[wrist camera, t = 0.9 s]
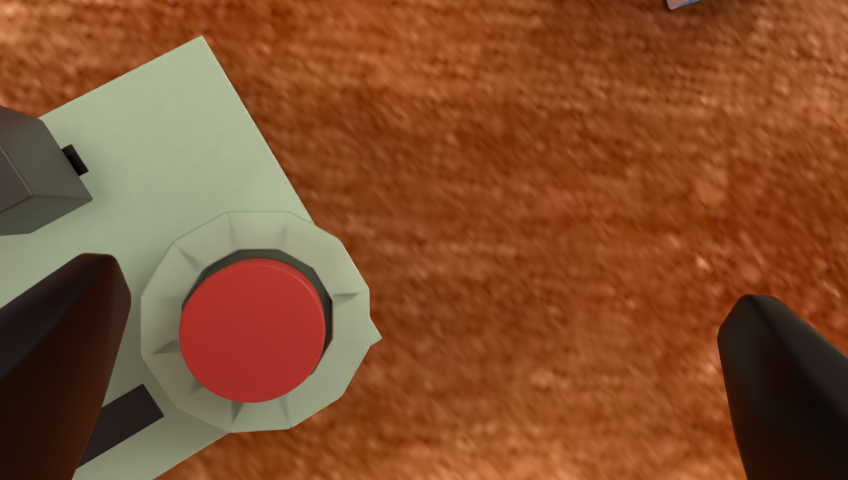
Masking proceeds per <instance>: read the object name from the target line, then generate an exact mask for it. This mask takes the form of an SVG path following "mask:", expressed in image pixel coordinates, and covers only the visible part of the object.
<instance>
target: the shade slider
mask: <svg viewBox="0 0 848 480" xmlns="http://www.w3.org/2000/svg"><path fill="white" fill-rule="evenodd" d="M92 200H93V198H92V196H91V195H90V193H89V191H88V190H87V188H86V187H85V185H84V184H83V182H82V181H81V179H80V178H79V176H78V174H77V173H76V171H75V170H74V168H73V167H72V165H71V164H70V162H69V160H68V159H67V157H66V156H65V154H64V153H63V151H62V150H61V148H60V147H59V145H58V143H57V142H56V140H55V139H54V137H53V136H52V134H51V133H50V131H49V130H48V128H47V126H46V125H45V123H44V122H43V121H42V120H40V119H37V118H34V117H32V116H29V115H26V114H23V113H20V112H17V111H14V110H12V109H9V108H6V107H3V106H0V236H6V235H20V234H30V233H32V232H34V231H36V230H38V229H40V228H42V227H44V226H45V225H47V224H49V223H51V222H53V221H55V220H57V219H59V218H60V217H62V216H64V215H66V214H68V213H70V212H72V211H74V210H76V209H77V208H79V207H81V206H83V205H85V204H87V203H89V202H91V201H92Z"/></svg>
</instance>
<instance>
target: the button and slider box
mask: <svg viewBox="0 0 848 480" xmlns="http://www.w3.org/2000/svg"><path fill="white" fill-rule="evenodd" d="M37 119H40V120H42V121H43V122H44V123H45V125H46V126H47V128H48V130H49V131H50V133H51V134H52V136H53V137H54V139H55V140H56V142H57V143H58V145H59V147H60V148H61V149H62V148H64V147H66V146H68V145H70V144H72V145H73V146H74V148H75V150H76V151H77V153H78V154H79V156H80V157H81V159H82V160H83V162H84V164H85V165H86V167H87V168H88V170H89V172H87V173H85V174H83V175H82V176H80V177H79V178H80V179H81V181H82V182H83V184H84V185H85V187H86V188H87V190H88V191H89V193H90V195H91V196H92V198H93V200H92V201H91V202H89V203H87V204H85V205H83V206H81V207H79V208H77V209H76V210H74V211H72V212H70V213H68V214H66V215H64V216H62V217H60V218H59V219H57V220H55V221H53V222H51V223H49V224H47V225H45V226H44V227H42V228H40V229H38V230H36V231H34V232H32V233H30V234H20V235H6V236H0V308H1V307H3V306H4V305H6V304H7V303H9V302H10V301H12V300H13V299H14V298H16V297H17V296H19V295H20V294H22V293H23V292H25V291H26V290H28V289H29V288H31V287H32V286H33V285H35V284H36V283H38V282H39V281H41V280H42V279H44V278H45V277H47V276H48V275H50V274H51V273H52V272H54V271H55V270H57V269H58V268H60V267H61V266H63V265H64V264H66V263H67V262H69V261H70V260H71V259H73V258H74V257H76V256H78V255H80V254H82V253H102V254H110V255H113V256H114V257H115V258H116V259H117V261H118V263H119V265H120V267H121V270H122V272H123V275H124V277H125V280H126V282H127V284H128V287H129V289H130V292H131V308H130V312H129V316H128V319H127V323H126V326H125V330H124V333H123V337H122V340H121V344H120V347H119V351H118V354H117V358H116V362H115V365H114V369H113V372H112V376H111V379H110V383H109V386H108V390H107V393H106V396H105V399H104V402H103V405H102V407H103V406H105V405H106V404H108V403H110V402H112V401H113V400H115V399H117V398H118V397H120V396H122V395H123V394H125V393H127V392H129V391H130V390H132V389H134V388H135V387H137V386H139V385H140V384H142V383H143V384H144V386H145V387H146V389H147V390H148V392H149V393H150V395H151V396H152V398H153V399H154V401H155V402H156V404H157V405H158V407H159V408H160V410H161V411H162V413H163V414H164V417H163V418H161V419H159V420H158V421H156V422H154V423H153V424H151V425H149V426H148V427H146V428H144V429H143V430H141V431H139V432H138V433H136V434H134V435H133V436H131V437H129V438H128V439H126V440H124V441H123V442H121V443H119V444H118V445H116V446H114V447H113V448H111V449H109V450H108V451H106V452H104V453H103V454H101V455H99V456H98V457H96V458H94V459H93V460H91V461H89V462H88V463H86V464H84V465H83V466H81V467H79V468H78V469H76V471H75V474H74V476H73V479H72V480H153V479H155V478H156V477H158V476H159V475H161V474H163V473H164V472H166V471H168V470H169V469H171V468H172V467H174V466H176V465H177V464H179V463H181V462H182V461H184V460H186V459H187V458H189V457H190V456H192V455H194V454H195V453H197V452H199V451H200V450H202V449H203V448H205V447H207V446H208V445H210V444H212V443H213V442H215V441H216V440H218V439H220V438H221V437H223V436H225V435H226V434H228V433H237V432H253V431H268V430H284V429H290V428H292V427H294V426H296V425H297V424H299V423H300V422H302V421H304V420H305V419H307V418H309V417H310V416H312V415H313V414H315V413H317V412H318V411H320V410H321V409H323V408H325V407H326V406H328V405H329V404H331V403H333V402H334V401H336V400H337V399H339V398H340V397H341V396H342V395H343V393H344V392H345V390H346V388H347V386H348V384H349V383H350V381H351V379H352V377H353V376H354V374H355V372H356V370H357V369H358V367H359V365H360V363H361V362H362V360H363V358H364V356H365V354H366V353H367V351H368V349H369V347H370V346H371V345H373V344H375V343H376V342H378V341H379V340H381V339H382V338H381V336H380V334H379V332H378V330H377V329H376V327H375V325H374V323H373V322H372V320H371V318H370V292H369V288H368V286H367V285H366V283H365V281H364V280H363V278H362V276H361V275H360V273H359V271H358V269H357V268H356V266H355V264H354V263H353V261H352V259H351V258H350V256H349V254H348V253H347V251H346V249H345V247H344V246H343V244H342V242H341V241H340V240H339V239H338V238H336V237H335V236H333V235H331V234H330V233H328V232H326V231H324V230H322V229H321V228H319V227H317V226H316V225H315V224H314V222H313V220H312V219H311V217H310V215H309V214H308V212H307V210H306V209H305V207H304V205H303V204H302V202H301V200H300V199H299V197H298V195H297V193H296V192H295V190H294V188H293V187H292V185H291V183H290V182H289V180H288V178H287V177H286V175H285V173H284V172H283V170H282V168H281V167H280V165H279V163H278V161H277V160H276V158H275V156H274V155H273V153H272V151H271V150H270V148H269V146H268V145H267V143H266V141H265V140H264V138H263V136H262V135H261V133H260V131H259V129H258V128H257V126H256V124H255V123H254V121H253V119H252V118H251V116H250V114H249V113H248V111H247V109H246V108H245V106H244V104H243V103H242V101H241V99H240V97H239V96H238V94H237V92H236V91H235V89H234V87H233V86H232V84H231V82H230V81H229V79H228V77H227V76H226V74H225V72H224V71H223V69H222V67H221V65H220V64H219V62H218V61H217V59H216V57H215V56H214V54H213V52H212V51H211V49H210V47H209V46H208V44H207V42H206V41H205V39H204V38H203V36H199V37H197V38H195V39H193V40H191V41H189V42H187V43H185V44H183V45H181V46H179V47H177V48H175V49H173V50H171V51H169V52H167V53H165V54H163V55H162V56H160V57H158V58H156V59H154V60H152V61H150V62H148V63H146V64H144V65H142V66H140V67H138V68H136V69H134V70H132V71H130V72H128V73H126V74H124V75H122V76H120V77H118V78H116V79H114V80H112V81H110V82H108V83H106V84H104V85H102V86H100V87H98V88H96V89H94V90H92V91H90V92H88V93H86V94H84V95H82V96H80V97H78V98H76V99H74V100H72V101H70V102H68V103H66V104H64V105H62V106H60V107H58V108H57V109H55V110H53V111H51V112H49V113H47V114H45V115H43V116H41V117H39V118H37ZM258 257H261V258H271V259H277V260H280V261H283V262H285V263H288V264H290V265H292V266H293V267H295V268H297V269H298V270H299V271H301V272H302V273H303V274H304V275H305V276H306V277H307V278H308V279H309V280H310V281H311V282H312V284H313V285H314V287H315V288H316V290H317V292H318V294H319V297H320V299H321V302H322V307H323V312H324V319H325V341H324V346H323V350H322V353H321V356H320V358H319V360H318V362H317V365H316V366H315V368H314V369H313V371H312V372H311V374H310V375H309V376H308V377H307V378H306V379H305V380H304V381H303V382H302V383H301V384H300V385H299V386H298V387H296V388H295V389H293V390H292V391H290V392H289V393H287V394H285V395H283V396H281V397H278V398H275V399H272V400H268V401H264V402H256V403H244V402H237V401H232V400H229V399H225V398H223V397H220V396H218V395H216V394H214V393H213V392H211V391H209V390H208V389H207V388H205V387H204V386H203V385H202V384H201V383H200V382H199V381H198V380H197V379H196V378H195V377H194V376H193V375H192V373H191V372H190V370H189V369H188V367H187V365H186V363H185V361H184V358H183V356H182V353H181V348H180V342H179V326H180V321H181V316H182V313H183V310H184V308H185V306H186V304H187V302H188V300H189V298H190V297H191V295H192V294H193V292H194V291H195V290H196V289H197V288H198V286H199V285H200V284H201V283H202V282H204V281H205V280H206V279H207V278H208V277H210V276H211V275H213V274H215V273H216V272H218V271H219V270H221V269H223V268H224V267H226V266H228V265H230V264H232V263H234V262H237V261H240V260H243V259H248V258H258Z"/></svg>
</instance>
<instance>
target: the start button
mask: <svg viewBox="0 0 848 480" xmlns="http://www.w3.org/2000/svg"><path fill="white" fill-rule="evenodd" d="M324 341H325V319H324V312H323V307H322V302H321V299H320V297H319V294H318V292H317V290H316V288H315V287H314V285H313V284H312V282H311V281H310V280H309V279H308V278H307V277H306V276H305V275H304V274H303V273H302V272H301V271H299V270H298V269H297V268H295V267H293V266H292V265H290V264H288V263H285V262H283V261H280V260H277V259H271V258H261V257H258V258H248V259H243V260H240V261H237V262H234V263H232V264H230V265H228V266H226V267H224V268H223V269H221V270H219V271H218V272H216V273H215V274H213V275H211V276H210V277H208V278H207V279H206V280H205V281H204V282H202V283H201V284H200V285H199V286H198V288H197V289H196V290H195V291H194V292H193V294H192V295H191V297H190V298H189V300H188V302H187V304H186V306H185V308H184V310H183V313H182V316H181V321H180V326H179V342H180V348H181V353H182V356H183V358H184V361H185V363H186V365H187V367H188V369H189V370H190V372H191V373H192V375H193V376H194V377H195V378H196V379H197V380H198V381H199V382H200V383H201V384H202V385H203V386H204V387H205V388H207V389H208V390H209V391H211V392H213V393H214V394H216V395H218V396H220V397H223V398H225V399H229V400H232V401H237V402H244V403H256V402H264V401H268V400H272V399H275V398H278V397H281V396H283V395H285V394H287V393H289V392H290V391H292V390H293V389H295V388H296V387H298V386H299V385H300V384H301V383H302V382H303V381H304V380H305V379H306V378H307V377H308V376H309V375H310V374H311V372H312V371H313V369H314V368H315V366H316V365H317V362H318V360H319V358H320V356H321V353H322V350H323V346H324Z"/></svg>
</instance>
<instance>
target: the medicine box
mask: <svg viewBox="0 0 848 480" xmlns="http://www.w3.org/2000/svg"><path fill="white" fill-rule="evenodd" d="M698 1H701V0H667V4H668V7H669V8H670V9H671V10H673V9H677V8H679V7H682V6H685V5H688V4H691V3H695V2H698Z"/></svg>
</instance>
